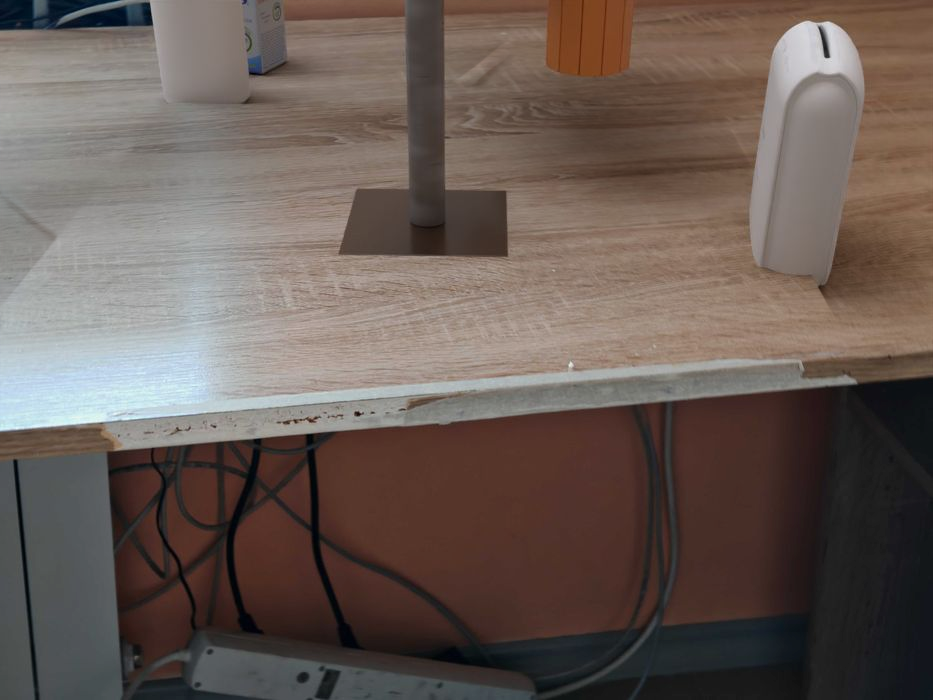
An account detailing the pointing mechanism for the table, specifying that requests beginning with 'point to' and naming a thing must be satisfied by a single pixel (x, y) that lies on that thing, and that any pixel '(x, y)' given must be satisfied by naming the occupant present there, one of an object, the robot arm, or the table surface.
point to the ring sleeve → (589, 36)
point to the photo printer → (805, 150)
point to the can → (201, 51)
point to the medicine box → (264, 34)
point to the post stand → (426, 171)
